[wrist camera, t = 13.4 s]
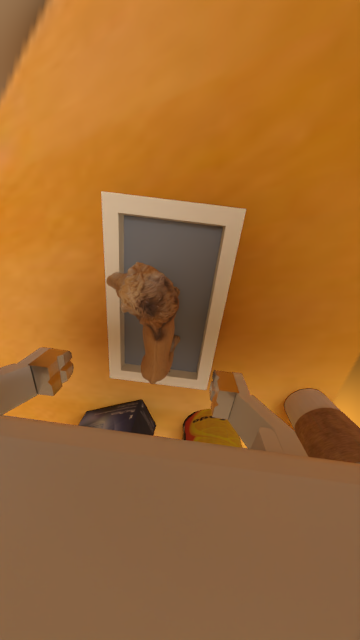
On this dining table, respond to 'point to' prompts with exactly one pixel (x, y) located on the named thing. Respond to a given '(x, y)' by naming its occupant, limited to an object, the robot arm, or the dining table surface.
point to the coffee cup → (323, 427)
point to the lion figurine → (150, 314)
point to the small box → (121, 418)
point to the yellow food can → (210, 429)
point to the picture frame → (170, 278)
